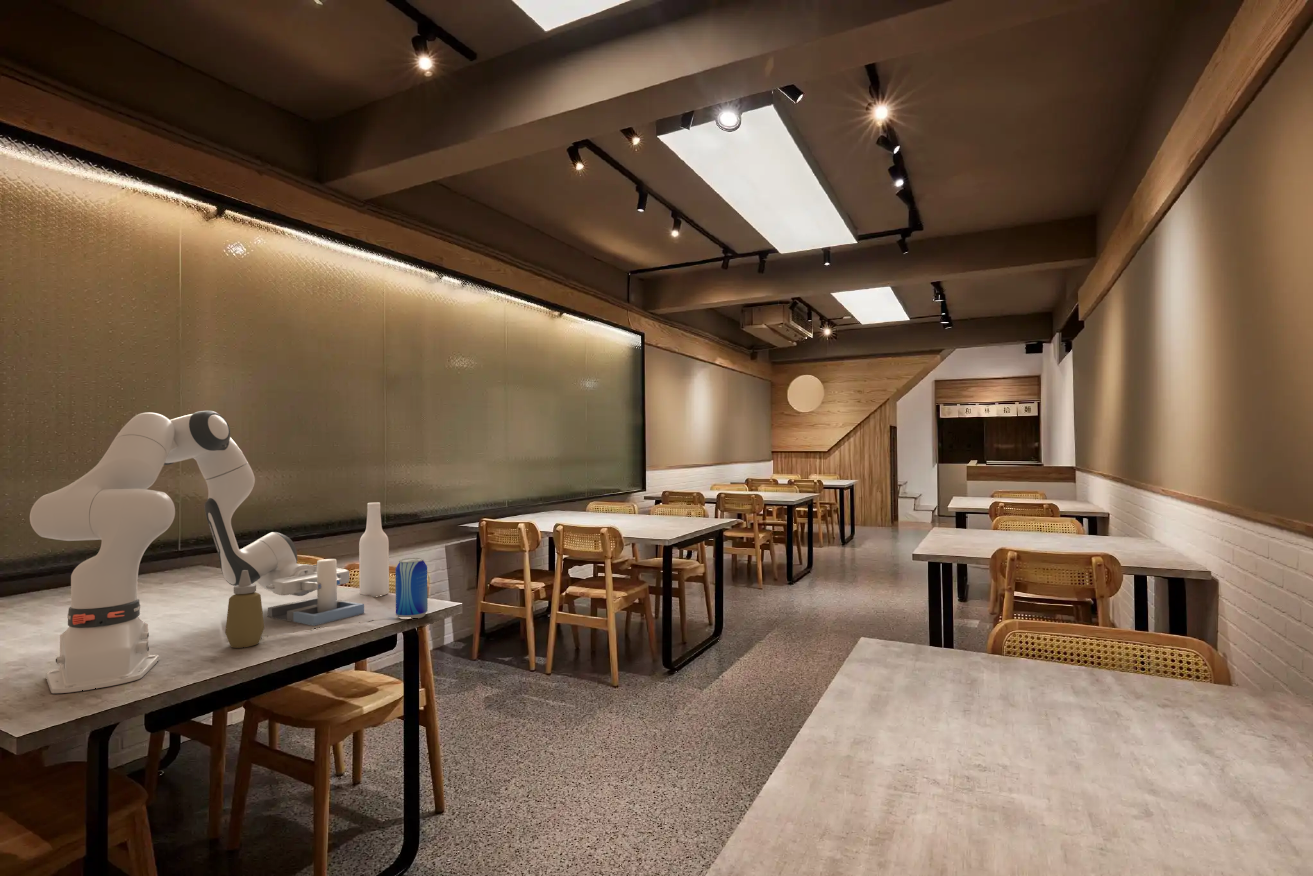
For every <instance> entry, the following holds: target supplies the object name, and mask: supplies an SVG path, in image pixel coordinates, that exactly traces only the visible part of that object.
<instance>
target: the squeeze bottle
mask: <svg viewBox="0 0 1313 876" xmlns="http://www.w3.org/2000/svg"><path fill="white" fill-rule="evenodd" d="M262 603H263V602H262V596H261V594H260V593H258V592H257V584H255V583H253V584H251V581H250V577H249V573H248V570H243V571H242V573H241V578H240V582H239V585H237V586H233V595H231V596H229V598H228V605H227V613H226V624H225V631H224V633H225V636H226V638H227V641H228V643H229V645H230V647H231V648H234V649H235V648H236V649H240V648H241V649H242V648H243V647H244V648H249V647H253V646H255V645H258V644H259V643H260V641H261V637H262V635H263V632H264V629H265V622H264V613H263V605H262Z"/></svg>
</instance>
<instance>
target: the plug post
mask: <svg viewBox="0 0 1313 876" xmlns="http://www.w3.org/2000/svg"><path fill="white" fill-rule="evenodd" d="M316 561H317V563H316V565H317V582H320V583H321V589H317V590H316V593H317V596H316V597H317V612H318V613H321V612H325V611H329V610H333V609H337V600H338V597H337V596H338V591H337V590H338V587H337V586H338V585H337V568H338V567H337V566H338V565H337V563H338V562H337V559H336V558H325V559H319V560H316Z"/></svg>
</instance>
